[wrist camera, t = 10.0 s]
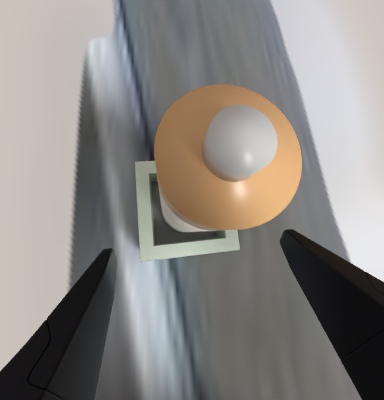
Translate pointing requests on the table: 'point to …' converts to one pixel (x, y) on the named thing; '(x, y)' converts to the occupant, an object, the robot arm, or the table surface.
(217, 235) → the frame
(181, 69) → the table surface
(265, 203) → the cell
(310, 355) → the table surface
